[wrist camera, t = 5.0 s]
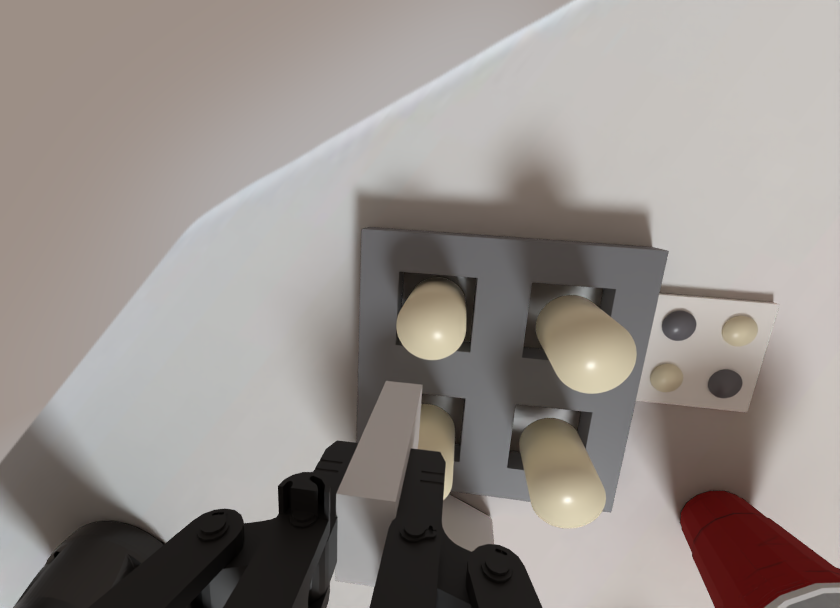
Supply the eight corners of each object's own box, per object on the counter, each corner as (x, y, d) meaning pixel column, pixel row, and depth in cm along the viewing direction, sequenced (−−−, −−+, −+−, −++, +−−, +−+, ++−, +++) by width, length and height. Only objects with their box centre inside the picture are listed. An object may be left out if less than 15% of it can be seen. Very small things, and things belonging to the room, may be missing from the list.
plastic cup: (809, 531, 35) (981, 696, 23) (693, 583, 37) (795, 756, 26) (742, 440, 33) (890, 567, 22) (626, 501, 36) (703, 644, 24)
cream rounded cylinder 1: (407, 330, 34) (394, 356, 28) (410, 274, 33) (397, 290, 27) (463, 335, 33) (462, 363, 28) (468, 279, 32) (469, 296, 26)
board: (362, 461, 38) (355, 478, 36) (369, 227, 32) (361, 229, 30) (601, 491, 36) (611, 512, 33) (652, 247, 30) (668, 251, 28)
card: (627, 396, 33) (631, 401, 33) (649, 292, 31) (654, 294, 30) (742, 408, 33) (749, 413, 32) (774, 302, 30) (781, 305, 29)
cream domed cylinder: (531, 353, 30) (546, 389, 25) (540, 292, 29) (558, 314, 23) (596, 359, 30) (627, 397, 24) (608, 298, 29) (644, 322, 23)
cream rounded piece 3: (515, 466, 33) (526, 523, 27) (523, 414, 32) (535, 462, 26) (575, 474, 32) (599, 533, 27) (585, 421, 31) (612, 471, 25)
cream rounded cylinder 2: (396, 451, 34) (381, 503, 28) (399, 400, 33) (384, 443, 27) (452, 458, 33) (449, 512, 28) (457, 407, 32) (455, 452, 26)
